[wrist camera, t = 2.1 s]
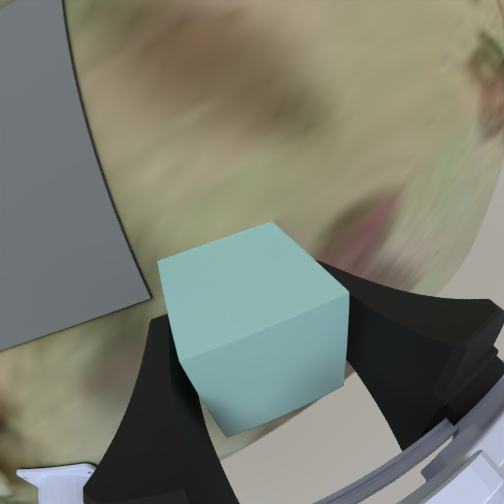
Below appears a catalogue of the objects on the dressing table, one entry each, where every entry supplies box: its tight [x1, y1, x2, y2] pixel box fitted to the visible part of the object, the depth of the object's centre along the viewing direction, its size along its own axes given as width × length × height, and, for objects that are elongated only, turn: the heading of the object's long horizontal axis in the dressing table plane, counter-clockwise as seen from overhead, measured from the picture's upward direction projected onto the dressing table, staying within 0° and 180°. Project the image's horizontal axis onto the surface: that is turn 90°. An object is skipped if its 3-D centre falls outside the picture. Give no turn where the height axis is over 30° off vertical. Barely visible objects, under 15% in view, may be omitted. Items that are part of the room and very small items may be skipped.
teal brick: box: [157, 222, 349, 438], centre depth 10 cm, size 4×4×5 cm
